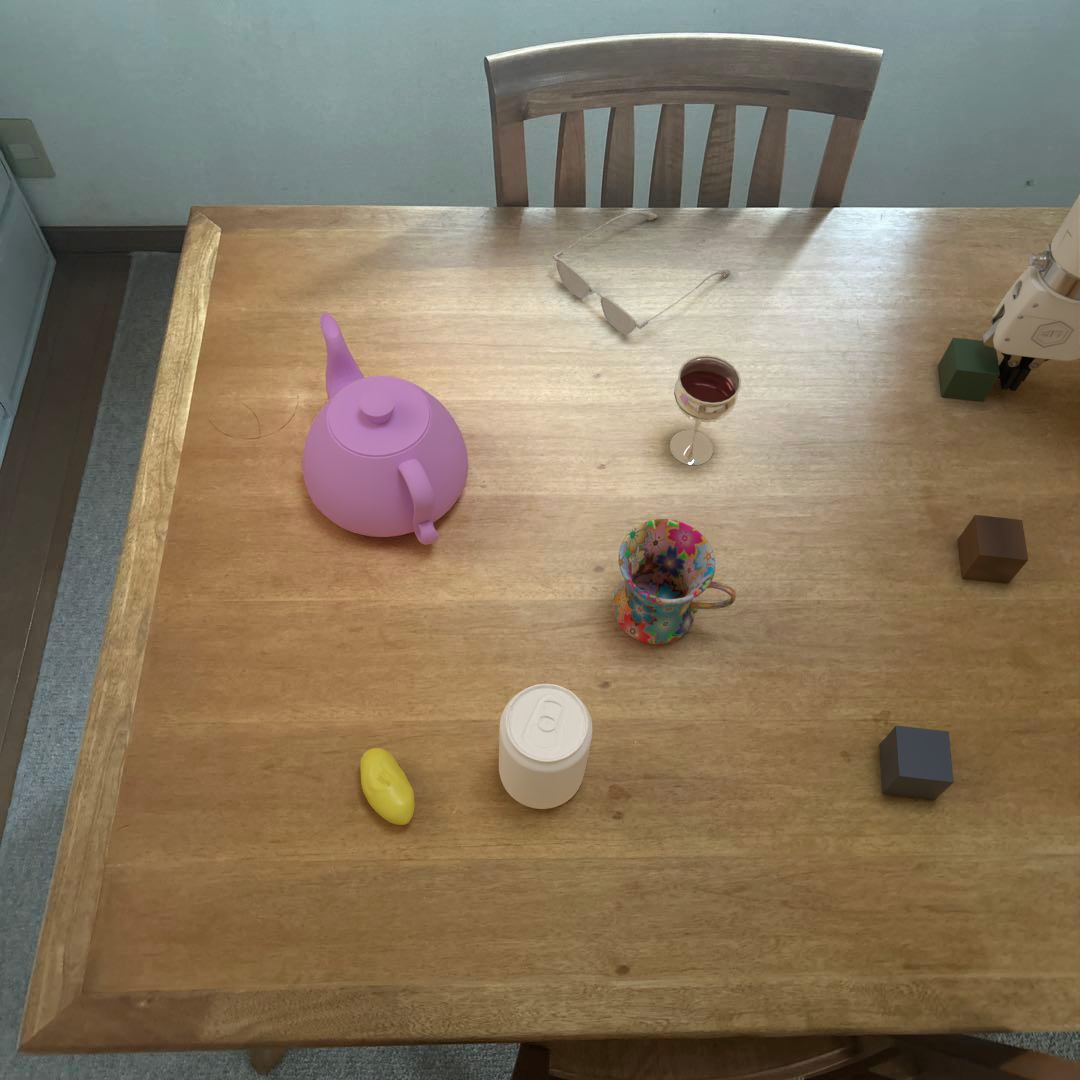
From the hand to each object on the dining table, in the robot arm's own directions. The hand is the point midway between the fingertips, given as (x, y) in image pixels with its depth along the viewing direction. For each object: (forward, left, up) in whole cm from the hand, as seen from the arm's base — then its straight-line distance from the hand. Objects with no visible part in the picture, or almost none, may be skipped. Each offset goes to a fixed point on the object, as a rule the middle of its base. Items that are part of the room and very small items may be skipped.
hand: (1006, 381), depth 129 cm
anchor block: (+15, +50, -1) cm, 52 cm away
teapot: (+71, +22, -1) cm, 74 cm away
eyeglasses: (+44, -12, -1) cm, 46 cm away
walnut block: (+5, +25, -1) cm, 26 cm away
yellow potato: (+64, +58, -1) cm, 87 cm away
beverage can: (+50, +54, -1) cm, 74 cm away
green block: (+5, 0, -1) cm, 5 cm away
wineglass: (+37, +14, -1) cm, 40 cm away
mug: (+39, +36, -1) cm, 53 cm away
